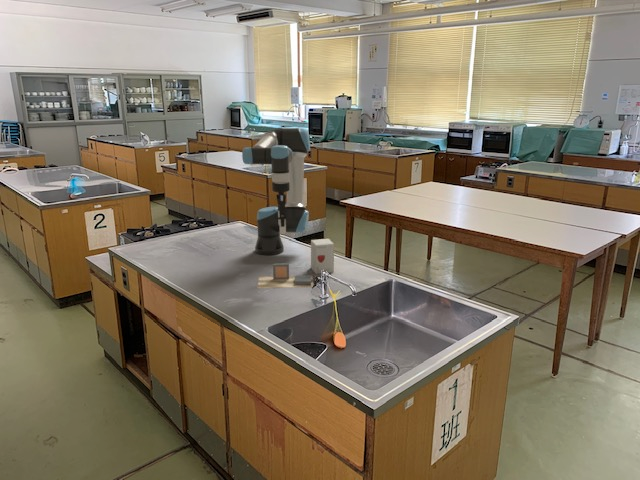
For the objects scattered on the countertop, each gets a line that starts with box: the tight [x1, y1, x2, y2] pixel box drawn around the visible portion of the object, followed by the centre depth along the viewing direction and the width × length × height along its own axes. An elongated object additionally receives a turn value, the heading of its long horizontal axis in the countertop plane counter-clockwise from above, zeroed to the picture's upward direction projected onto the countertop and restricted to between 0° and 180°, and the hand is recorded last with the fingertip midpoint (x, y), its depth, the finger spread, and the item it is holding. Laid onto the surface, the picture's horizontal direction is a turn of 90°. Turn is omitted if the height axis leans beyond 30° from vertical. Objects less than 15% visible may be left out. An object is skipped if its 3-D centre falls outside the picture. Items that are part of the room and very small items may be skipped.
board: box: [257, 274, 314, 289], centre depth 215 cm, size 14×24×1 cm, turn 93°
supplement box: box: [310, 238, 335, 274], centre depth 228 cm, size 9×9×15 cm
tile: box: [272, 262, 290, 280], centre depth 217 cm, size 2×7×7 cm, turn 93°
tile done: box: [294, 274, 312, 285], centre depth 214 cm, size 7×7×2 cm
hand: (282, 229), depth 219 cm, fingers open, 13 cm apart
